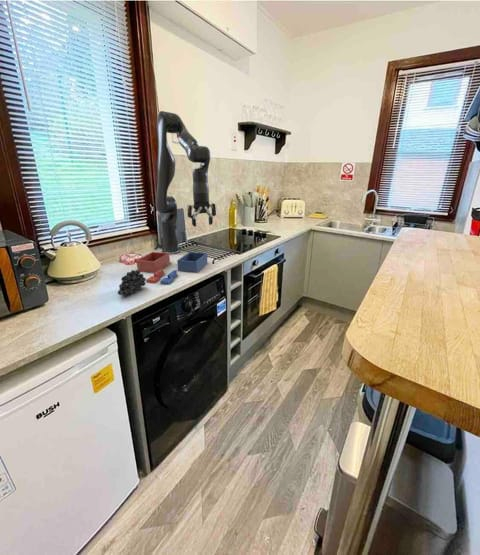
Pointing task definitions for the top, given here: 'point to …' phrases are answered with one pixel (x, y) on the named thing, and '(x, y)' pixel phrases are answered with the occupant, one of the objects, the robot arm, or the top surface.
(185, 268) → the blue bin
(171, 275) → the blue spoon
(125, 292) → the fruit
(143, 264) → the red bin
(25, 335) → the top surface
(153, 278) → the red lumpy bar
